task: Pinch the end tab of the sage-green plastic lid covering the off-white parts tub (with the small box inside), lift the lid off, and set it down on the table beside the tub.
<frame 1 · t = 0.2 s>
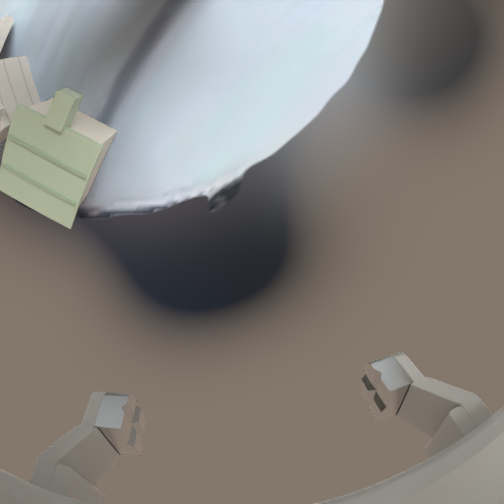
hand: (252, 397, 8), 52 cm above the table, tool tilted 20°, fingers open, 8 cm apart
lid: (43, 166, 37), point 12 cm above the table, touching tub
tub: (69, 146, 46), on the table
pizza boxes: (6, 81, 32), on the table
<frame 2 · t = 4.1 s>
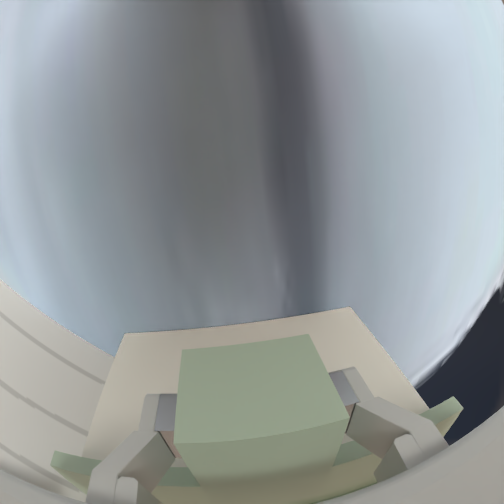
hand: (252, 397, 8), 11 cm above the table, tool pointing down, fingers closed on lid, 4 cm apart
tub: (246, 392, 23), on the table
pizza boxes: (4, 338, 19), on the table
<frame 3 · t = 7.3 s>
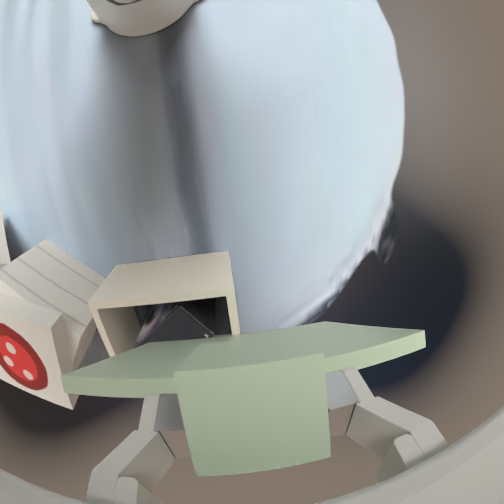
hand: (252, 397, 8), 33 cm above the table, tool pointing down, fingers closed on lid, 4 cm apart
small box: (179, 303, 44), resting in tub
lid: (240, 345, 21), point 22 cm above the table, tilted 59°, touching gripper
tub: (179, 304, 44), on the table
pizza boxes: (45, 279, 39), on the table
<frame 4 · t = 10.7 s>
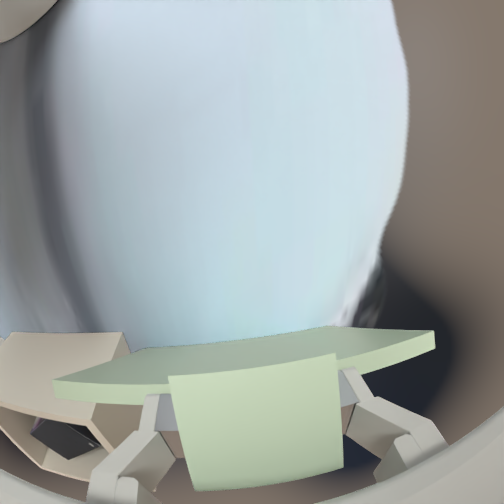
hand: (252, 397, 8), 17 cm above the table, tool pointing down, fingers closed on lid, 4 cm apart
small box: (83, 379, 29), resting in tub
lid: (240, 350, 20), point 7 cm above the table, tilted 57°, touching gripper
tub: (83, 381, 28), on the table
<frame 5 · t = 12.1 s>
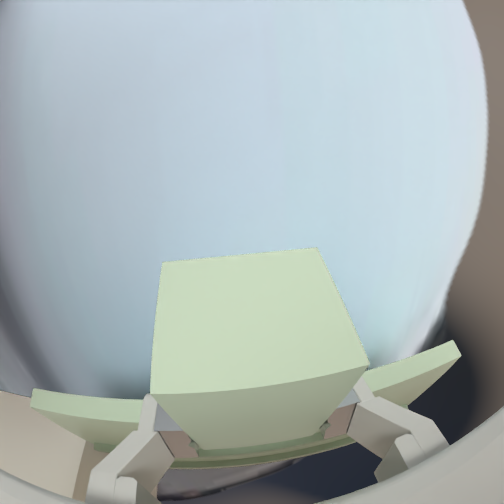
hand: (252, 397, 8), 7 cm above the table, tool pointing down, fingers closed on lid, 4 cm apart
lid: (252, 439, 15), point 3 cm above the table, tilted 19°, touching gripper
tub: (61, 443, 18), on the table
when the fingers open (4 cm above the table, at t = 13.2 s): lid drops 1 cm, point 1 cm above the table.
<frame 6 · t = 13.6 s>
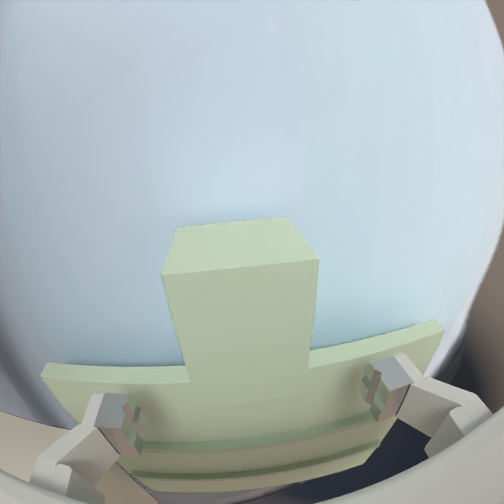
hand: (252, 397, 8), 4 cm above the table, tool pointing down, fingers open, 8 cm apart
lid: (254, 445, 15), point 1 cm above the table, tilted 5°
tub: (57, 462, 16), on the table
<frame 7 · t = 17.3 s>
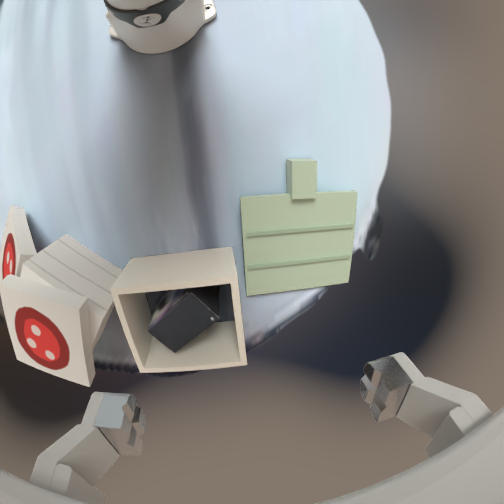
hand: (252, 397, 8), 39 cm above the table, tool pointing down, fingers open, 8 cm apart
small box: (187, 292, 50), resting in tub
lid: (300, 242, 48), point 1 cm above the table, tilted 5°
tub: (187, 293, 50), on the table
pizza boxes: (63, 270, 45), on the table
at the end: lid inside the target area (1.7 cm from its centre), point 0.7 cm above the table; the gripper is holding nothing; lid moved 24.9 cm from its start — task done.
